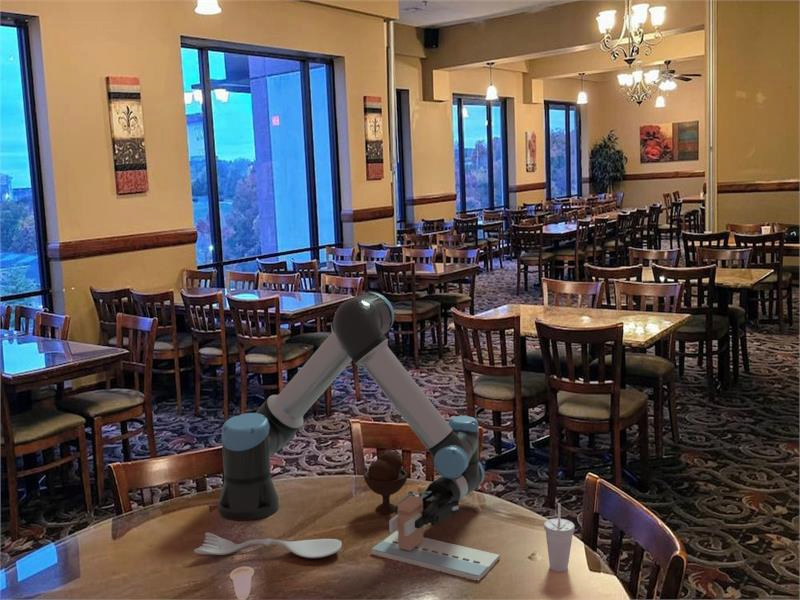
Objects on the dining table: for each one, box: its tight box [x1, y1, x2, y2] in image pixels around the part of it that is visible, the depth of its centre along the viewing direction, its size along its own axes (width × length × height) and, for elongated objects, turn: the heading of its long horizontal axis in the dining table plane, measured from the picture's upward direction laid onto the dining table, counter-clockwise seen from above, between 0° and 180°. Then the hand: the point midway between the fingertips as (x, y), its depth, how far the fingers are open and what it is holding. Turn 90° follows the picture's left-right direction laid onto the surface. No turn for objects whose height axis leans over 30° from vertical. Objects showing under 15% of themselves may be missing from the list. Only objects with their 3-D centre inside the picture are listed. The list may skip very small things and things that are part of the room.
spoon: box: [193, 532, 343, 559], centre depth 177 cm, size 9×32×4 cm, turn 87°
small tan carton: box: [397, 496, 424, 551], centre depth 176 cm, size 3×6×10 cm, turn 150°
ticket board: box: [371, 530, 501, 582], centre depth 174 cm, size 26×11×1 cm, turn 60°
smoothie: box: [543, 503, 576, 573], centre depth 167 cm, size 6×6×14 cm
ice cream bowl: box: [363, 450, 409, 515], centre depth 199 cm, size 11×11×15 cm
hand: (398, 528), depth 172 cm, fingers closed on small tan carton, 3 cm apart
